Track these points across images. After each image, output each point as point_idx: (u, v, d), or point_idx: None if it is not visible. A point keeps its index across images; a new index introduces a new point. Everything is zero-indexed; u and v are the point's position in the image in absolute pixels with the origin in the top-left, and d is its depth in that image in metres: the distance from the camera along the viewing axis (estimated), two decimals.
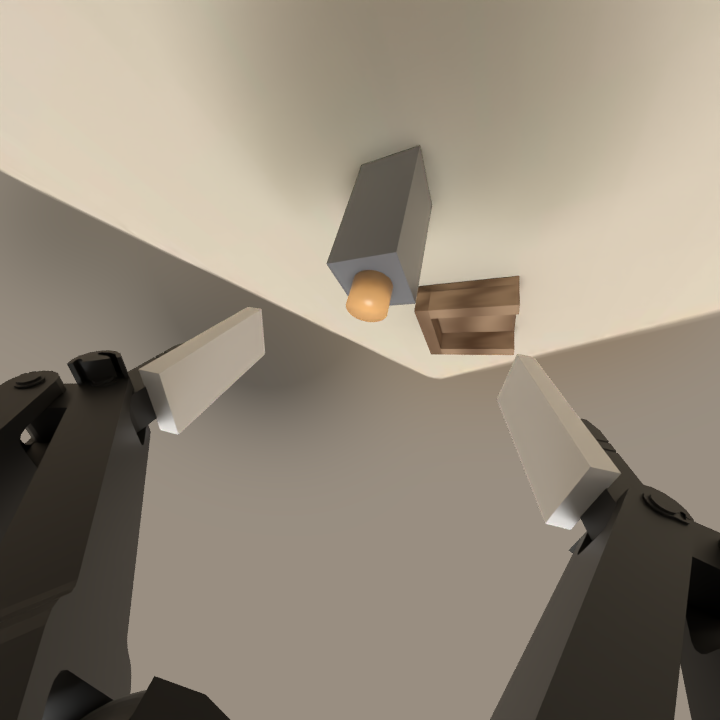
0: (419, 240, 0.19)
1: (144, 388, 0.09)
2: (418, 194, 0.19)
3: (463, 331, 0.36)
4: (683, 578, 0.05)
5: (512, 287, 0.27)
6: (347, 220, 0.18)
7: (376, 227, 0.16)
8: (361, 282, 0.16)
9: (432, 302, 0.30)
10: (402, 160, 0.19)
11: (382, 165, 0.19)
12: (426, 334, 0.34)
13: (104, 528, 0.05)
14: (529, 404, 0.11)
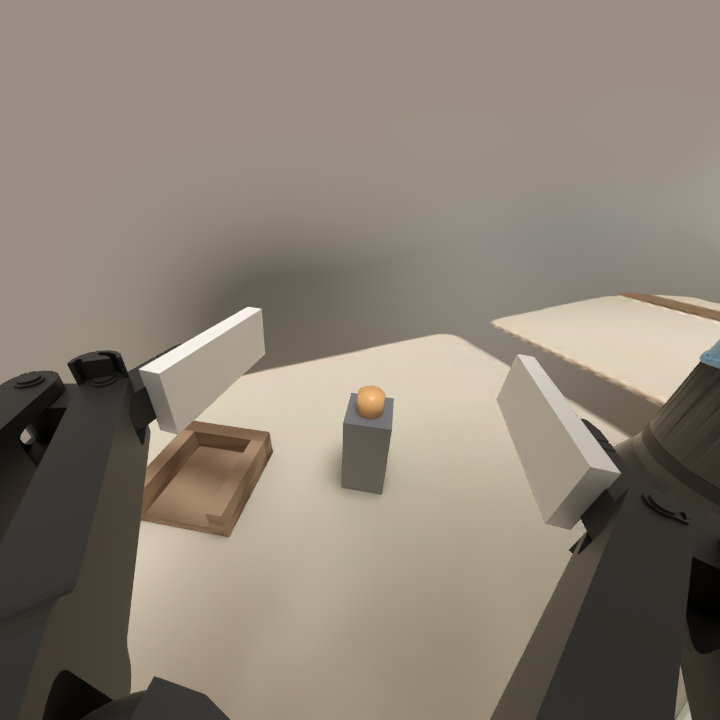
0: (355, 456, 0.28)
1: (144, 388, 0.09)
2: (371, 474, 0.29)
3: (186, 464, 0.31)
4: (683, 578, 0.05)
5: (229, 522, 0.26)
6: None
7: None
8: (384, 404, 0.26)
9: (263, 450, 0.31)
10: None
11: None
12: (229, 428, 0.33)
13: (104, 528, 0.05)
14: (530, 404, 0.11)
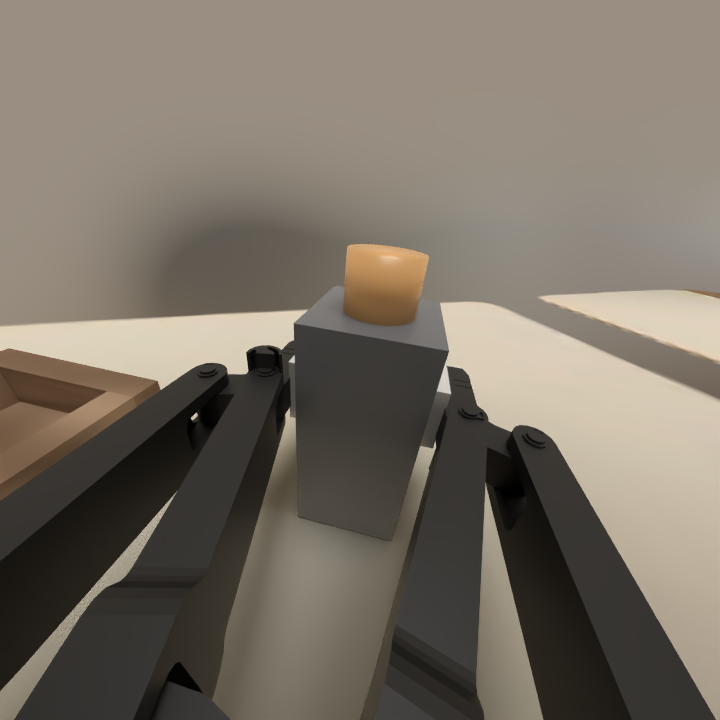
0: (331, 439, 0.10)
1: (289, 378, 0.10)
2: (369, 491, 0.11)
3: None
4: (483, 457, 0.07)
5: None
6: None
7: None
8: (421, 290, 0.09)
9: None
10: None
11: None
12: (76, 368, 0.15)
13: (236, 516, 0.06)
14: None
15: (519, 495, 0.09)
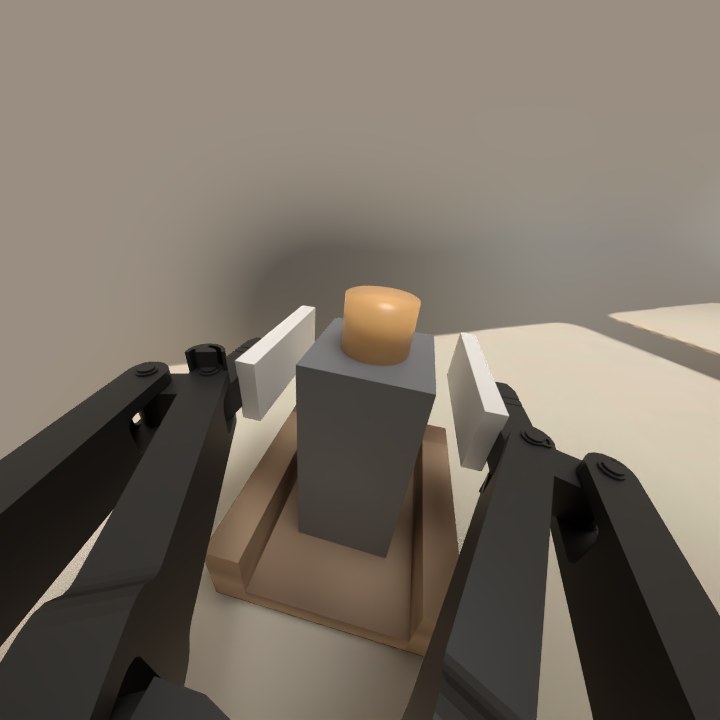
0: (329, 465, 0.11)
1: (237, 378, 0.10)
2: (364, 512, 0.12)
3: None
4: (548, 490, 0.07)
5: None
6: None
7: None
8: None
9: None
10: None
11: None
12: None
13: (189, 514, 0.06)
14: (462, 372, 0.12)
15: (586, 528, 0.08)
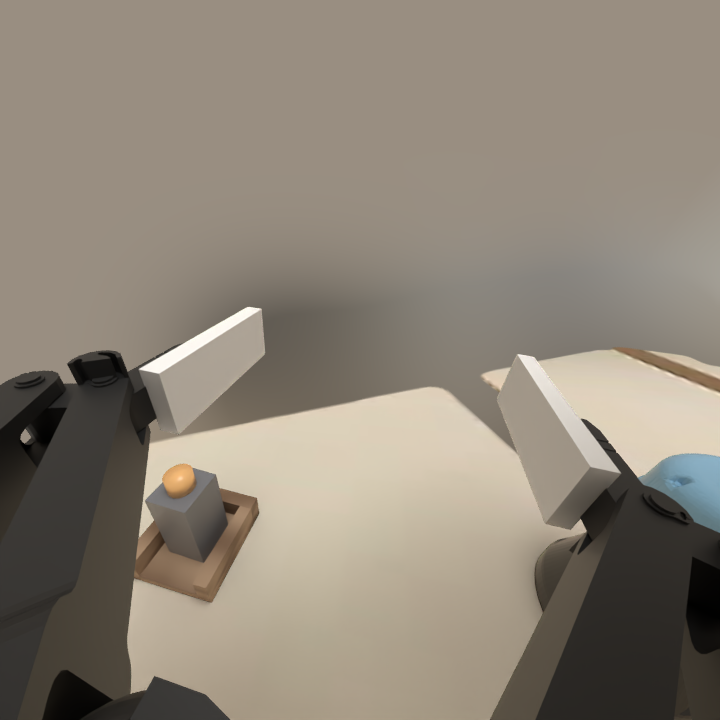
0: (167, 528, 0.29)
1: (144, 388, 0.09)
2: (187, 545, 0.30)
3: None
4: (683, 578, 0.05)
5: (212, 590, 0.29)
6: (218, 498, 0.32)
7: (201, 510, 0.29)
8: (191, 484, 0.28)
9: (250, 516, 0.35)
10: (208, 547, 0.32)
11: (216, 535, 0.33)
12: (222, 491, 0.36)
13: (104, 528, 0.05)
14: (529, 404, 0.11)
15: None
